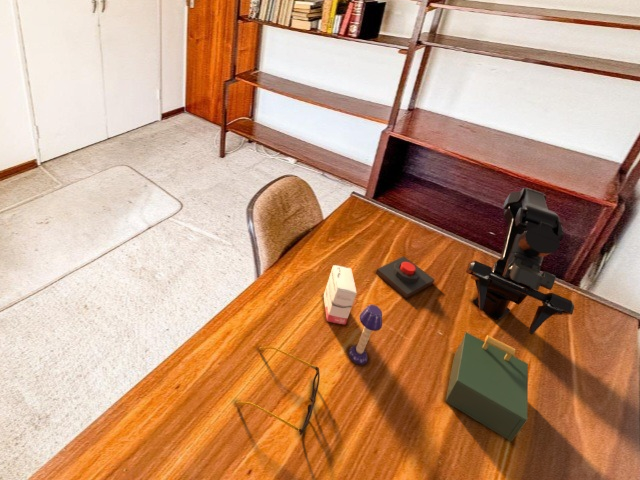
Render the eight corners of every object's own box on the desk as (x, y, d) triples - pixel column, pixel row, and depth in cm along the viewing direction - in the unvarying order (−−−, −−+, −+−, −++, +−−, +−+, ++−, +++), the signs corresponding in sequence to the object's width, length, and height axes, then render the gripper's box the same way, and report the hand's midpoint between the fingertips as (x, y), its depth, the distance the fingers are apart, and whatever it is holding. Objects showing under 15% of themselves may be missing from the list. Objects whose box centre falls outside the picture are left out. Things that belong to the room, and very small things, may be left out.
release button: (405, 264, 117) (407, 260, 116) (416, 273, 114) (418, 268, 113) (397, 268, 115) (399, 263, 114) (408, 277, 112) (410, 272, 112)
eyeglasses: (304, 444, 77) (307, 433, 75) (235, 404, 83) (237, 393, 82) (319, 380, 88) (323, 369, 87) (258, 348, 95) (260, 337, 93)
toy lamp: (371, 366, 92) (390, 318, 84) (352, 367, 91) (369, 319, 84) (362, 347, 96) (379, 299, 89) (343, 348, 96) (359, 300, 88)
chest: (454, 355, 95) (464, 336, 92) (513, 387, 88) (526, 368, 86) (445, 401, 85) (455, 382, 82) (511, 442, 79) (525, 422, 76)
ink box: (347, 326, 101) (357, 293, 96) (326, 322, 102) (336, 289, 97) (342, 298, 109) (351, 266, 104) (323, 294, 110) (331, 263, 104)
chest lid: (464, 334, 93) (471, 321, 91) (526, 365, 86) (535, 352, 84) (455, 382, 82) (463, 369, 80) (525, 422, 76) (535, 409, 74)
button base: (402, 260, 122) (405, 251, 121) (432, 283, 114) (436, 275, 113) (375, 273, 117) (378, 264, 116) (406, 298, 109) (409, 289, 108)
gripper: (484, 234, 91) (462, 297, 88) (593, 275, 81) (572, 349, 78) (475, 241, 100) (455, 300, 97) (572, 280, 90) (553, 346, 87)
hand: (504, 322), depth 89 cm, fingers open, 9 cm apart
